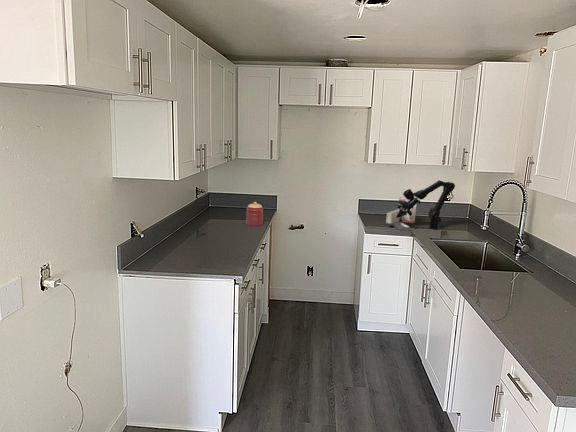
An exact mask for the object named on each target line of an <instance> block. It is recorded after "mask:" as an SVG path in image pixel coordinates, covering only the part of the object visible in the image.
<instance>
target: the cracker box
mask: <svg viewBox="0 0 576 432" xmlns="http://www.w3.org/2000/svg"><path fill="white" fill-rule="evenodd" d="M399 200H401V201H406V202H408V201H409V200H407V199H406V197H402V196H401V197H400V196H399V197H398V201H399ZM397 205H400V204H398V203H397ZM397 210H399V208H398V207H397ZM410 211H411V212H412V215H411V216H409V214H408V213H407V215H405V216H402V223H403V224H415V221H416V213H417V212H416V211H417V204H416V205H415V206H414V207H413V209H412V208H411V209H410ZM396 222H399V220H398V221H396Z"/></svg>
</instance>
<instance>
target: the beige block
mask: <svg viewBox="0 0 576 432" xmlns="http://www.w3.org/2000/svg"><path fill="white" fill-rule="evenodd" d="M398 213H399V210H398V209H394V210H391V211H389V212H387V213H386V220H385V221H386V222H385V223H386V224H390V225H391V223H394V222H397V221H398V220H399V222H401V223H402V217H399V218H396V216H397V214H398Z"/></svg>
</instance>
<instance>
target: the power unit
mask: <svg viewBox="0 0 576 432" xmlns="http://www.w3.org/2000/svg"><path fill="white" fill-rule="evenodd" d="M390 225H391V226H392V227H393V226H394V228H395V227H396V228H395V229H397V230H398V231H410V229H411V227H410V226H409V225H407V224H406V223H401V222H397V221H396V222H394V223H391V224H390Z"/></svg>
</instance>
